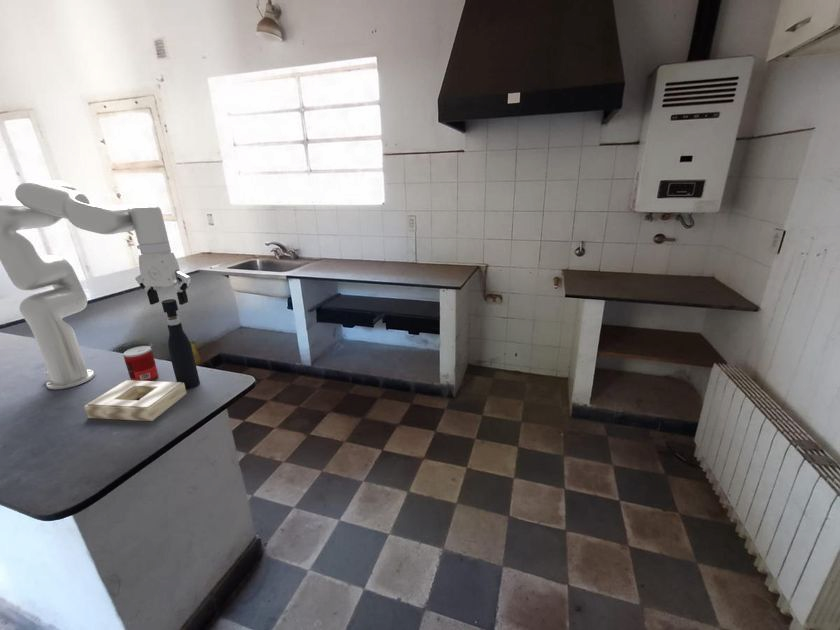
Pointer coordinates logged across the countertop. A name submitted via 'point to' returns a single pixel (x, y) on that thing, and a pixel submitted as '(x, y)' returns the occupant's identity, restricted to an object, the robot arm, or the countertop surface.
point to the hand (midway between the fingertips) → (169, 303)
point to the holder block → (126, 407)
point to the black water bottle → (180, 348)
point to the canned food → (141, 364)
